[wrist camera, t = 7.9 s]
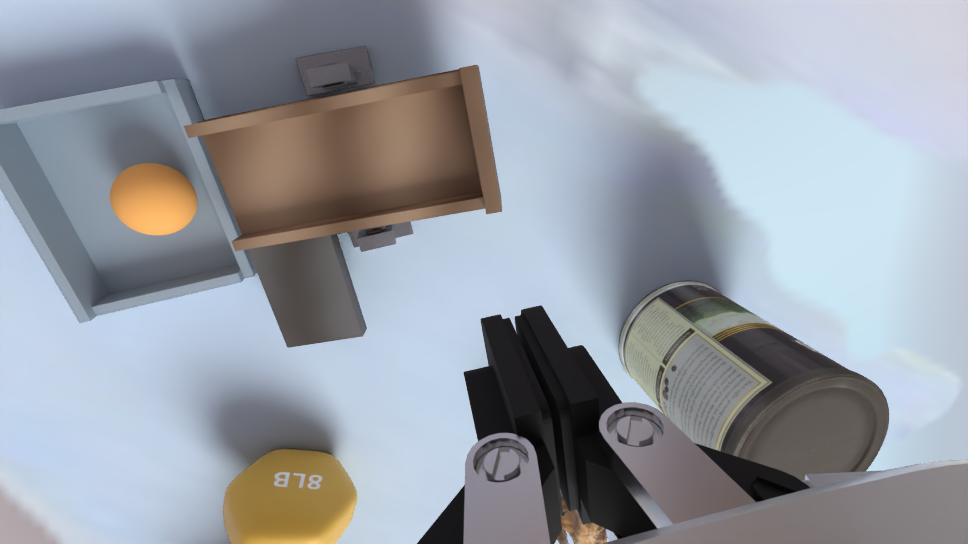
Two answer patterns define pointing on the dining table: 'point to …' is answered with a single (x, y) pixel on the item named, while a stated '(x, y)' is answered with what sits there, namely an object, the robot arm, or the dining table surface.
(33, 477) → the dining table surface
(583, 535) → the lion figurine
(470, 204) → the brown tilting tray
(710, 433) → the coffee can
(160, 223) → the ball
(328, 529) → the dumbbell
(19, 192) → the tray
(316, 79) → the lever stand
